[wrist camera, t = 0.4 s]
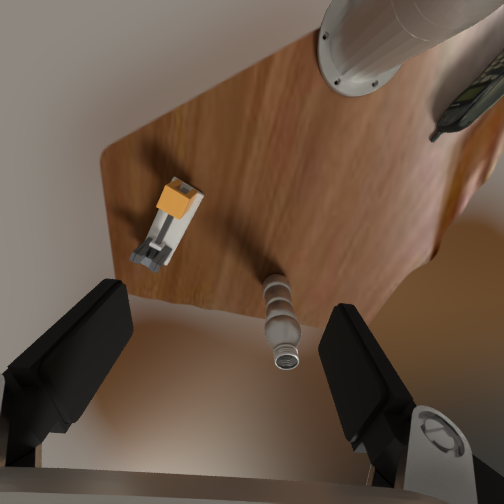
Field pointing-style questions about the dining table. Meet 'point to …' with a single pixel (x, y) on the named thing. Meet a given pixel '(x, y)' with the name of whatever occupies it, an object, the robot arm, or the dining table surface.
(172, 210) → the orange bracket
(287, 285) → the plastic bottle
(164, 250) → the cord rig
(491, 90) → the mobile phone
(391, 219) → the dining table surface
